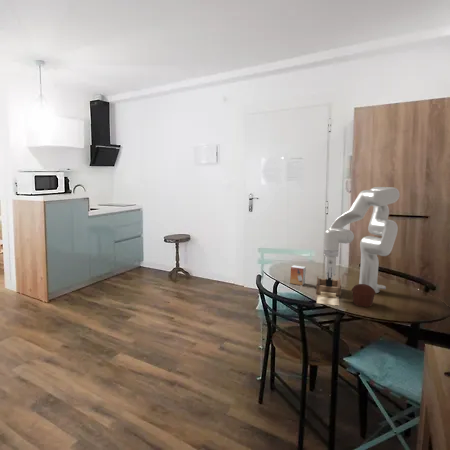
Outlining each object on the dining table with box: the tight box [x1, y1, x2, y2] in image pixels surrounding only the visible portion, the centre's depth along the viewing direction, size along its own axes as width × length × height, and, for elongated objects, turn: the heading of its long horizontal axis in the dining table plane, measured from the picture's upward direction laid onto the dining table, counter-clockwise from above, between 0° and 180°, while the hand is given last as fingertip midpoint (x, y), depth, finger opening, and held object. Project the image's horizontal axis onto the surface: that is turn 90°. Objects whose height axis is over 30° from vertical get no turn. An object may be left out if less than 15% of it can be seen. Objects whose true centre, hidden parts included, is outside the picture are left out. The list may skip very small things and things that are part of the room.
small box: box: [289, 264, 307, 286], centre depth 212 cm, size 8×6×10 cm
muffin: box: [351, 283, 377, 308], centre depth 179 cm, size 12×11×10 cm
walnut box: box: [315, 275, 342, 298], centre depth 198 cm, size 13×16×6 cm
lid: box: [316, 292, 340, 307], centre depth 183 cm, size 11×14×3 cm
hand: (328, 286), depth 187 cm, fingers closed
